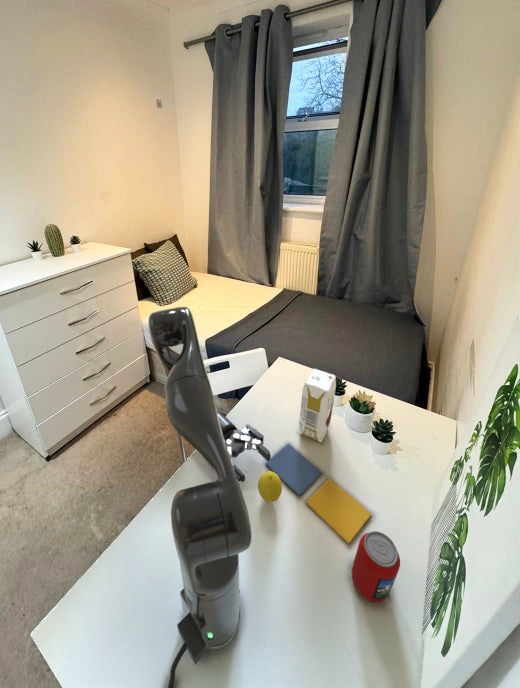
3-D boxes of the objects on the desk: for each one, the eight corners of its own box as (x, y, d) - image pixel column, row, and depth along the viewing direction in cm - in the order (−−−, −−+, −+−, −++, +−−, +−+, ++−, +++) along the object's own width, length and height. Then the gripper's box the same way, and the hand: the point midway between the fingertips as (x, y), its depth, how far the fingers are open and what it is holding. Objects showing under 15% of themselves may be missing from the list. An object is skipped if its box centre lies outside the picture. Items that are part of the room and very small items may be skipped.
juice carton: (296, 435, 93) (301, 383, 85) (305, 414, 100) (311, 365, 92) (322, 446, 90) (330, 394, 82) (330, 424, 96) (339, 374, 88)
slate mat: (299, 496, 78) (299, 495, 78) (265, 464, 86) (265, 462, 85) (321, 473, 83) (322, 471, 83) (288, 444, 91) (288, 443, 90)
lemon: (280, 511, 75) (282, 489, 72) (256, 506, 76) (257, 485, 73) (281, 487, 80) (283, 466, 76) (258, 484, 81) (259, 462, 78)
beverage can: (386, 614, 59) (400, 580, 53) (347, 589, 62) (356, 555, 57) (391, 574, 64) (404, 540, 59) (354, 554, 67) (364, 519, 62)
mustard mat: (348, 544, 69) (349, 542, 68) (306, 503, 76) (306, 501, 76) (370, 515, 74) (371, 513, 73) (328, 479, 81) (329, 477, 81)
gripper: (193, 431, 84) (234, 476, 73) (234, 403, 92) (278, 441, 81) (195, 450, 87) (235, 497, 76) (234, 422, 95) (276, 461, 84)
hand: (257, 468), depth 78 cm, fingers open, 8 cm apart
